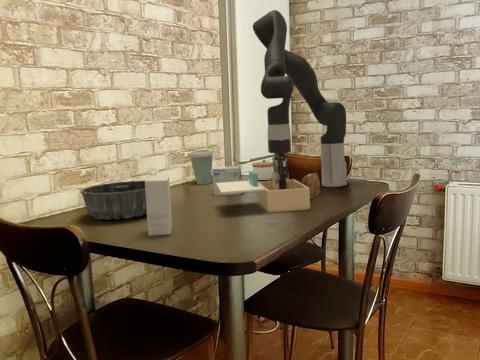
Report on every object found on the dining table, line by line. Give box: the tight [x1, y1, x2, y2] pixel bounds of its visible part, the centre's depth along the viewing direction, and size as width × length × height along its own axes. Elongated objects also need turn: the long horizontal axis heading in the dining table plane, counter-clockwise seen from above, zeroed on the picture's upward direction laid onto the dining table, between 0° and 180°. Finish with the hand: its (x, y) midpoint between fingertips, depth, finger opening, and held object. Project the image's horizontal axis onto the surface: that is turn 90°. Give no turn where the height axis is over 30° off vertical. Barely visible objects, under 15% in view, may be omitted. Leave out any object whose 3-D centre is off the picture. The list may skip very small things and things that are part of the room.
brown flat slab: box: [301, 172, 321, 200], centre depth 175 cm, size 15×3×8 cm, turn 154°
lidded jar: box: [252, 159, 274, 181], centre depth 221 cm, size 11×11×9 cm
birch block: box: [272, 172, 290, 190], centre depth 163 cm, size 4×4×6 cm
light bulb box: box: [212, 165, 243, 197], centre depth 191 cm, size 11×7×11 cm, turn 84°
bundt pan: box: [79, 180, 147, 221], centre depth 163 cm, size 26×26×10 cm
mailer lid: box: [216, 170, 265, 194], centre depth 161 cm, size 14×19×5 cm
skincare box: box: [144, 174, 173, 237], centre depth 137 cm, size 8×7×16 cm
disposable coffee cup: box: [188, 149, 214, 185], centre depth 221 cm, size 11×11×15 cm
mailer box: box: [256, 179, 311, 214], centre depth 163 cm, size 14×19×7 cm
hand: (281, 188), depth 163 cm, fingers closed on birch block, 4 cm apart
